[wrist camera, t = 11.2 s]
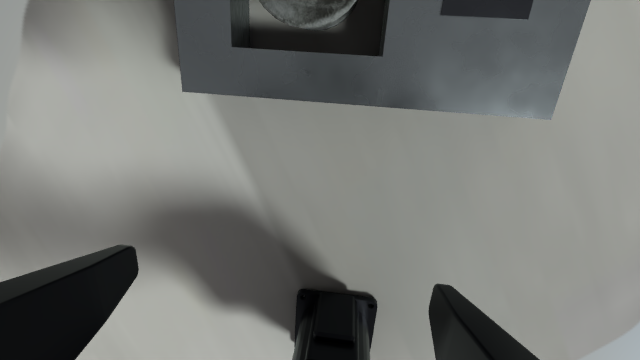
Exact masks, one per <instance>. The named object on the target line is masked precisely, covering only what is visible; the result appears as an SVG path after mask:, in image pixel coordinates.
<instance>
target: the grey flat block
mask: <svg viewBox="0 0 640 360" xmlns="http://www.w3.org/2000/svg"><path fill="white" fill-rule="evenodd" d="M590 1H591V0H385V8H384V16H383V25H382V33H381V41H380V49H379V56H364V55H348V54H332V53H316V52H301V51H285V50H269V49H253V48H250V31H249V0H174V8H175V18H176V29H177V39H178V50H179V60H180V71H181V81H182V92H194V93H208V94H221V95H234V96H247V97H260V98H273V99H286V100H299V101H312V102H325V103H338V104H351V105H365V106H378V107H391V108H404V109H417V110H430V111H443V112H456V113H469V114H482V115H495V116H508V117H522V118H535V119H548V120H551V118H552V115H553V112H554V109H555V106H556V103H557V100H558V97H559V94H560V91H561V88H562V85H563V82H564V79H565V76H566V73H567V70H568V67H569V64H570V61H571V58H572V55H573V52H574V49H575V46H576V43H577V40H578V37H579V34H580V31H581V28H582V25H583V22H584V19H585V16H586V13H587V10H588V7H589V4H590Z"/></svg>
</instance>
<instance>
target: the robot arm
mask: <svg viewBox="0 0 640 360" xmlns="http://www.w3.org/2000/svg"><path fill="white" fill-rule="evenodd" d="M138 270H139V268H138V262H137V255H136V250H135V248H134V247H133V246H128V245H117V246H114V247H110V248H107V249H104V250H101V251H98V252H95V253H91V254H88V255H85V256H82V257H79V258H76V259H73V260H69V261H66V262H63V263H60V264H57V265H54V266H50V267H47V268H44V269H41V270H38V271H35V272H31V273H28V274H25V275H22V276H19V277H16V278H13V279H9V280H6V281H3V282H0V360H75V359H76V358H77V357H78V355H79V354H80V353H81V352H82V351H83V349H84V348H85V347H86V346H87V344H88V343H89V342H90V341H91V340H92V338H93V337H94V336H95V335H96V333H97V332H98V331H99V330H100V328H101V327H102V326H103V325H104V323H105V322H106V321H107V319H108V318H109V316H110V315H111V314H112V312H113V311H114V309H115V308H116V306H117V305H118V303H119V302H120V300H121V299H122V298H123V296H124V295H125V293H126V292H127V290H128V289H129V287H130V286H131V284H132V283H133V281H134V280H135V278H136V277H137V275H138ZM301 295H305V296H301ZM369 304H373V305H369ZM376 312H377V301H376V299H374V298H371V297H363V296H355V295H347V294H339V293H331V292H323V291H315V290H307V289H301V290H299V291H298V294H297V303H296V325H295V349H294V354H293V359H292V360H370V348H371V342H372V336H373V330H374V324H375V318H376ZM429 319H430V326H431V332H432V338H433V344H434V351H435V357H436V360H539V359H538V358H537V357H536V356H535V355H533V354H532V353H531V352H530V351H529V350H527V349H526V348H525V347H524V346H523V345H521V344H520V343H519V342H518V341H517V340H515V339H514V338H513V337H512V336H511V335H509V334H508V333H507V332H506V331H505V330H504V329H502V328H501V327H500V326H499V325H498V324H496V323H495V322H494V321H493V320H492V319H490V318H489V317H488V316H487V315H486V314H484V313H483V312H482V311H481V310H480V309H478V308H477V307H476V306H475V305H474V304H472V303H471V302H470V301H469V300H468V299H466V298H465V297H464V296H463V295H462V294H460V293H459V292H458V291H457V290H456V289H454V288H453V287H452V286H450V285H445V284H436V285H435V286H434V288H433V292H432V296H431V300H430V305H429Z"/></svg>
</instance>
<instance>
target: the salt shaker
mask: <svg viewBox="0 0 640 360" xmlns="http://www.w3.org/2000/svg"><path fill="white" fill-rule="evenodd" d="M259 1H260V2H261V4H262V5H263V7H264V8H265V9H266V10H267V11H268V12H269V13H271V14H272V15H273V16H274V17H275V18H276V19H278V20H280V21H282V22H284V23H286V24H288V25H289V26H294V27H299V28H304V29H309V30H314V31H315V30H326V29H328V28H331V27H333V26H336V25H337V24H339V23H340V22H341V21H343V20H344V19H345V18H347V16H348V15H349V14H350V13H351V11H352V10H353V9H354V7H355V5H356V3H357V1H358V0H259Z"/></svg>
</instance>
